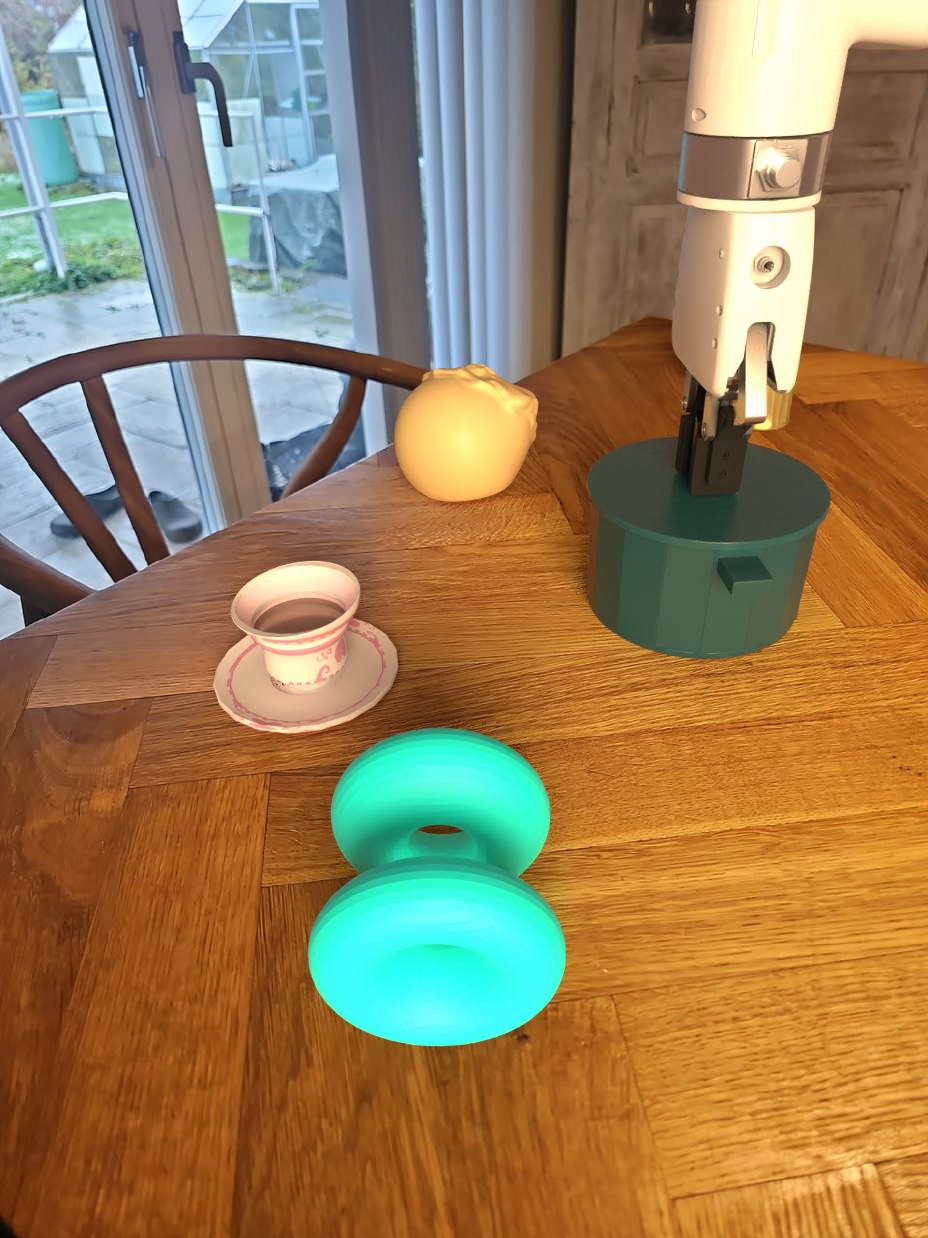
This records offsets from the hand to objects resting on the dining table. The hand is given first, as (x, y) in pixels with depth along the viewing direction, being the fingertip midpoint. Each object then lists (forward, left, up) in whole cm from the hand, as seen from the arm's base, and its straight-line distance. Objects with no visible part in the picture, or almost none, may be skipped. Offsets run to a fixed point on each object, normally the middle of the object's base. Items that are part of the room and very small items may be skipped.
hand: (706, 479), depth 56 cm
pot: (0, 0, -9) cm, 9 cm away
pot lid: (0, 0, -1) cm, 1 cm away
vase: (-16, -31, -10) cm, 36 cm away
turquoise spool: (+19, +27, -10) cm, 34 cm away
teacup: (+27, +6, -10) cm, 29 cm away
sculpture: (+15, -20, -10) cm, 27 cm away
